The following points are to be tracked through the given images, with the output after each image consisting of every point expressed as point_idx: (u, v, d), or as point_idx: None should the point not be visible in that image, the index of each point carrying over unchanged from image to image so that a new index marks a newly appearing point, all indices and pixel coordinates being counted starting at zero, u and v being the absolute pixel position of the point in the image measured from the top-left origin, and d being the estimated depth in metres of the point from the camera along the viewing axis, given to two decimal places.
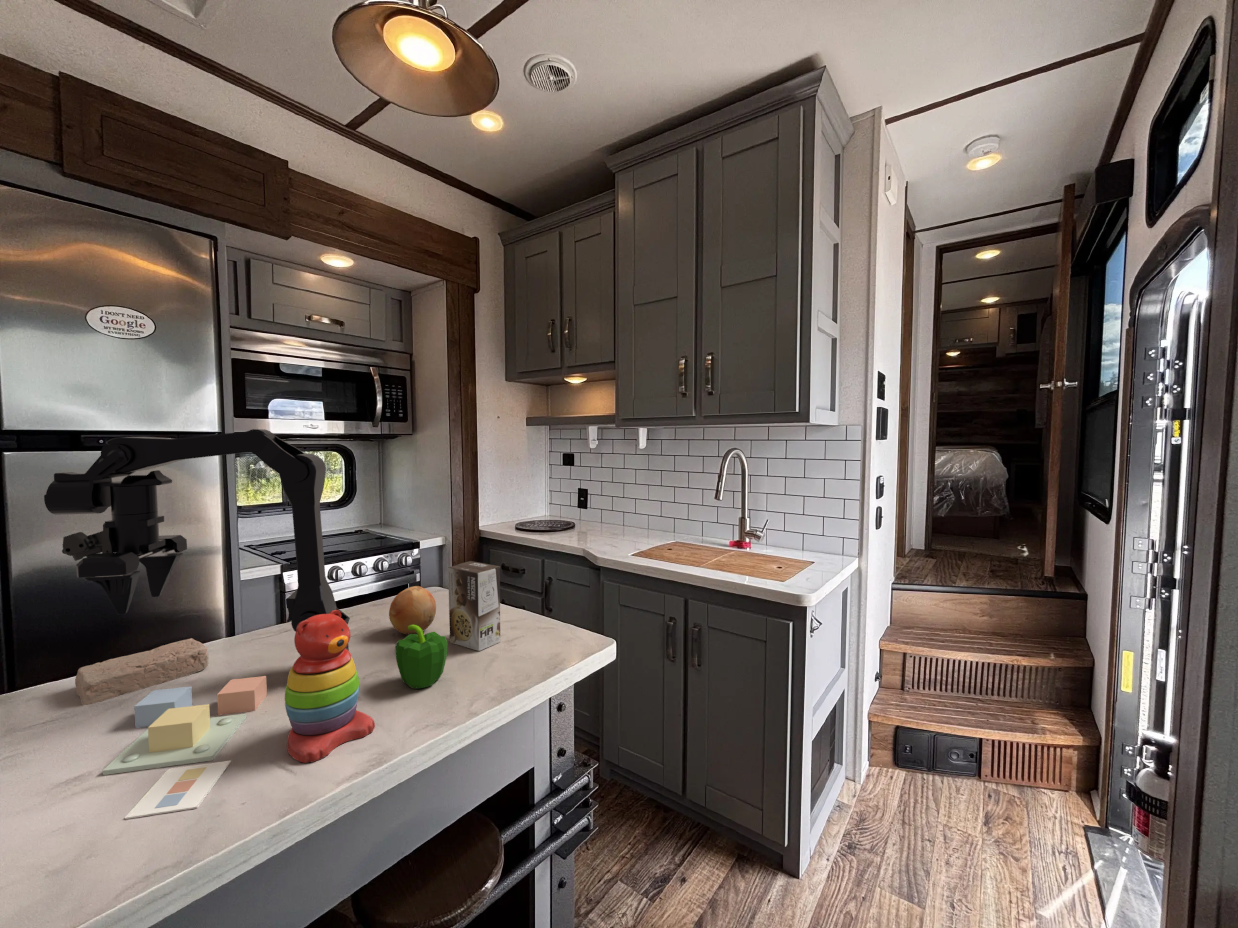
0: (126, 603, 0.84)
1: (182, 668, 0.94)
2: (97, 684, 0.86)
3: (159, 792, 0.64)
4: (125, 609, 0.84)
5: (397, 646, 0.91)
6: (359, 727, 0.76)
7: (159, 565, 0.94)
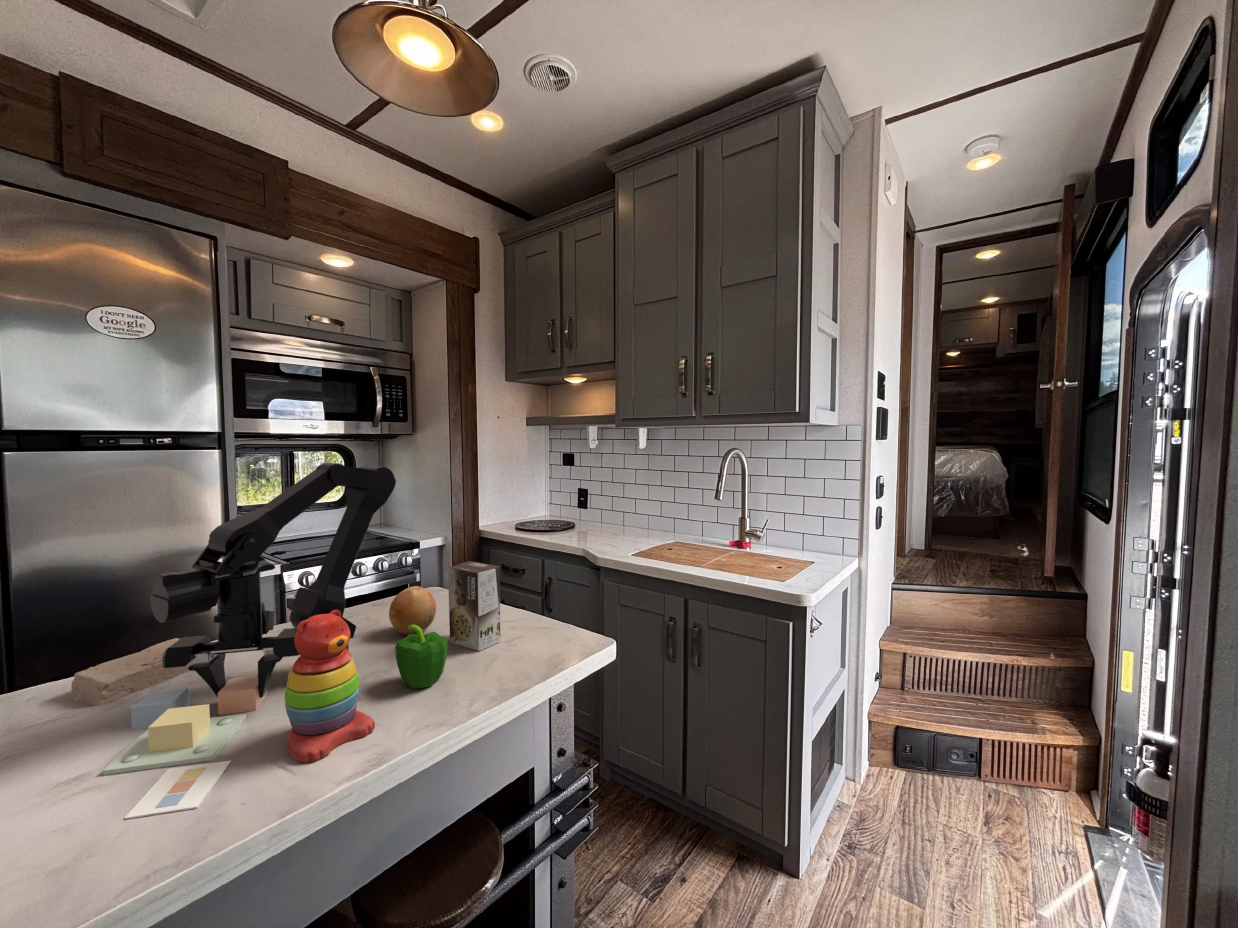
0: (214, 692, 0.83)
1: None
2: (112, 683, 0.86)
3: (159, 792, 0.64)
4: None
5: (397, 646, 0.91)
6: (359, 727, 0.76)
7: None
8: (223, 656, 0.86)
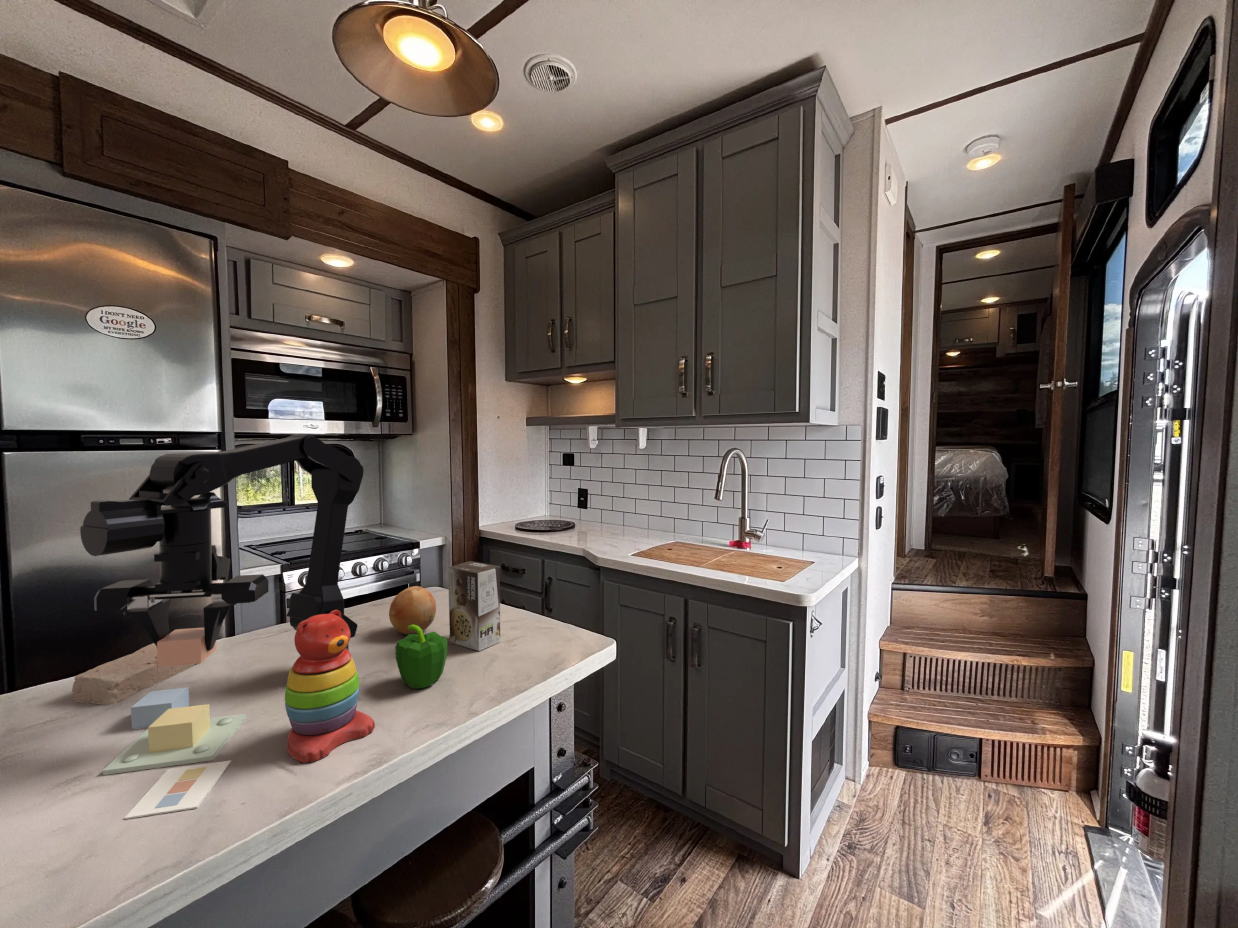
0: (154, 643, 0.74)
1: None
2: (122, 682, 0.86)
3: (159, 792, 0.64)
4: None
5: (397, 646, 0.92)
6: (359, 727, 0.76)
7: None
8: (167, 603, 0.76)
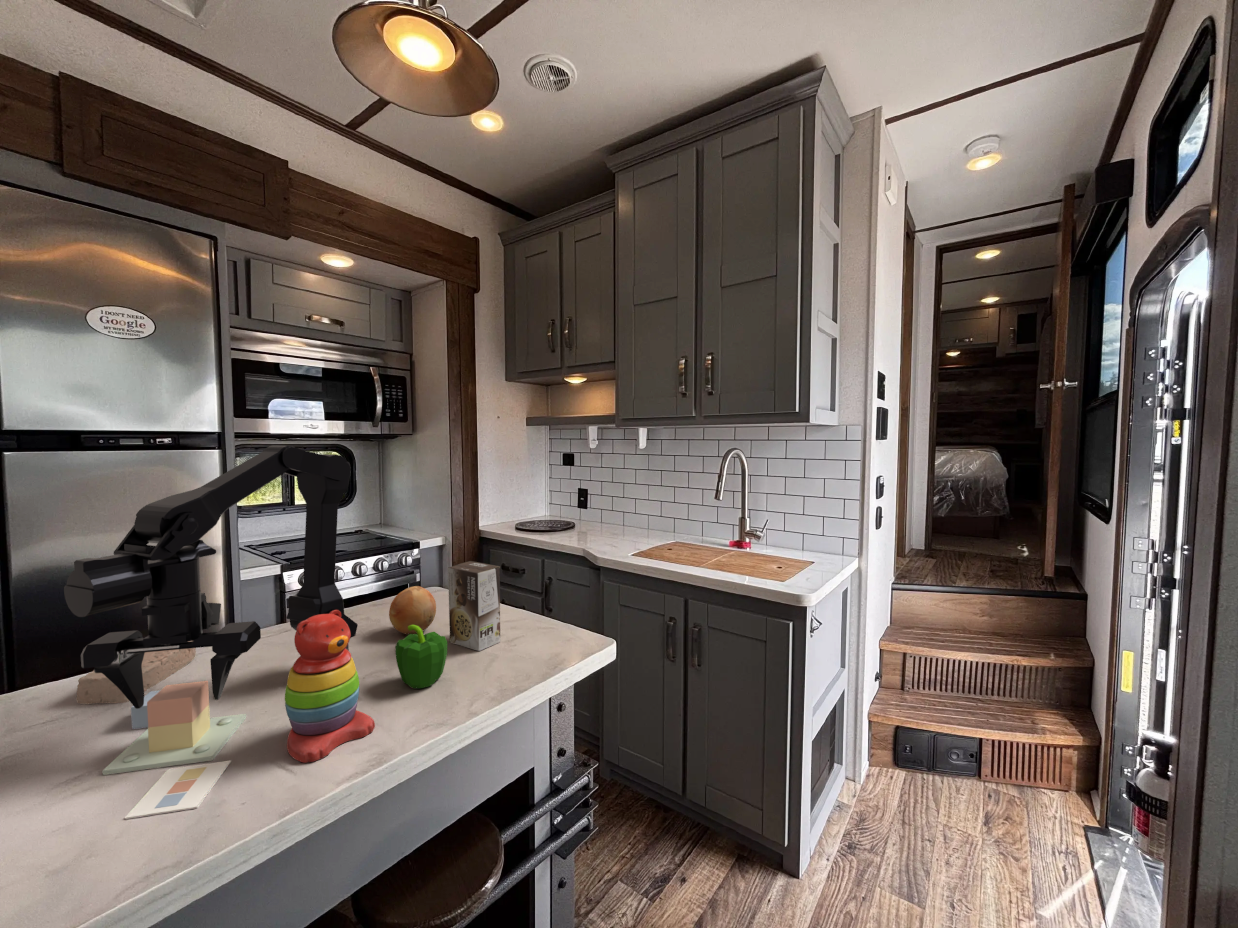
0: (127, 698, 0.72)
1: (183, 659, 0.98)
2: None
3: (159, 792, 0.64)
4: (132, 704, 0.72)
5: (397, 646, 0.91)
6: (359, 727, 0.76)
7: None
8: (141, 656, 0.74)
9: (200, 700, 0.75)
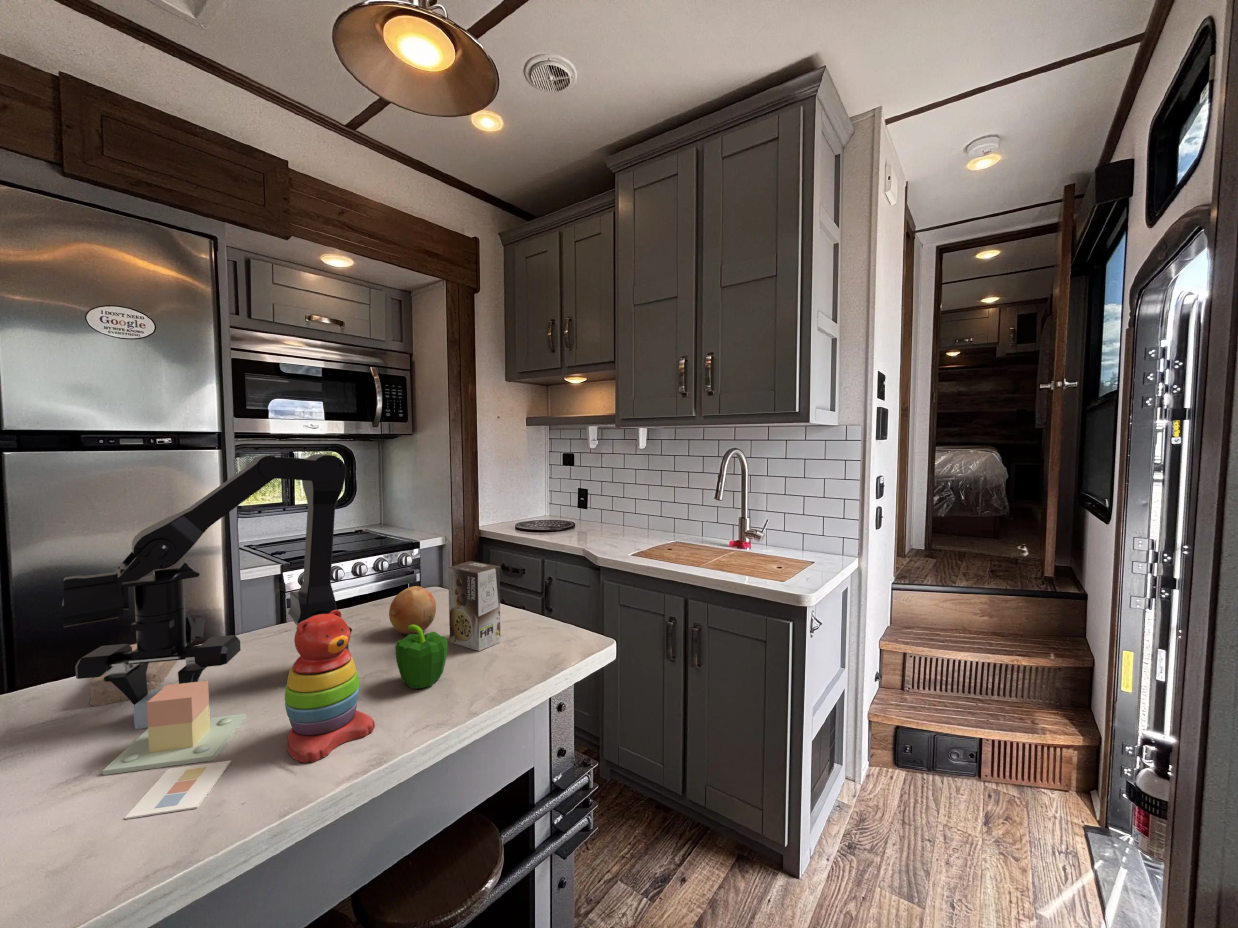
0: (133, 704, 0.80)
1: None
2: (156, 674, 0.89)
3: (159, 792, 0.64)
4: None
5: (397, 646, 0.92)
6: (359, 727, 0.76)
7: None
8: (145, 665, 0.82)
9: (200, 700, 0.75)
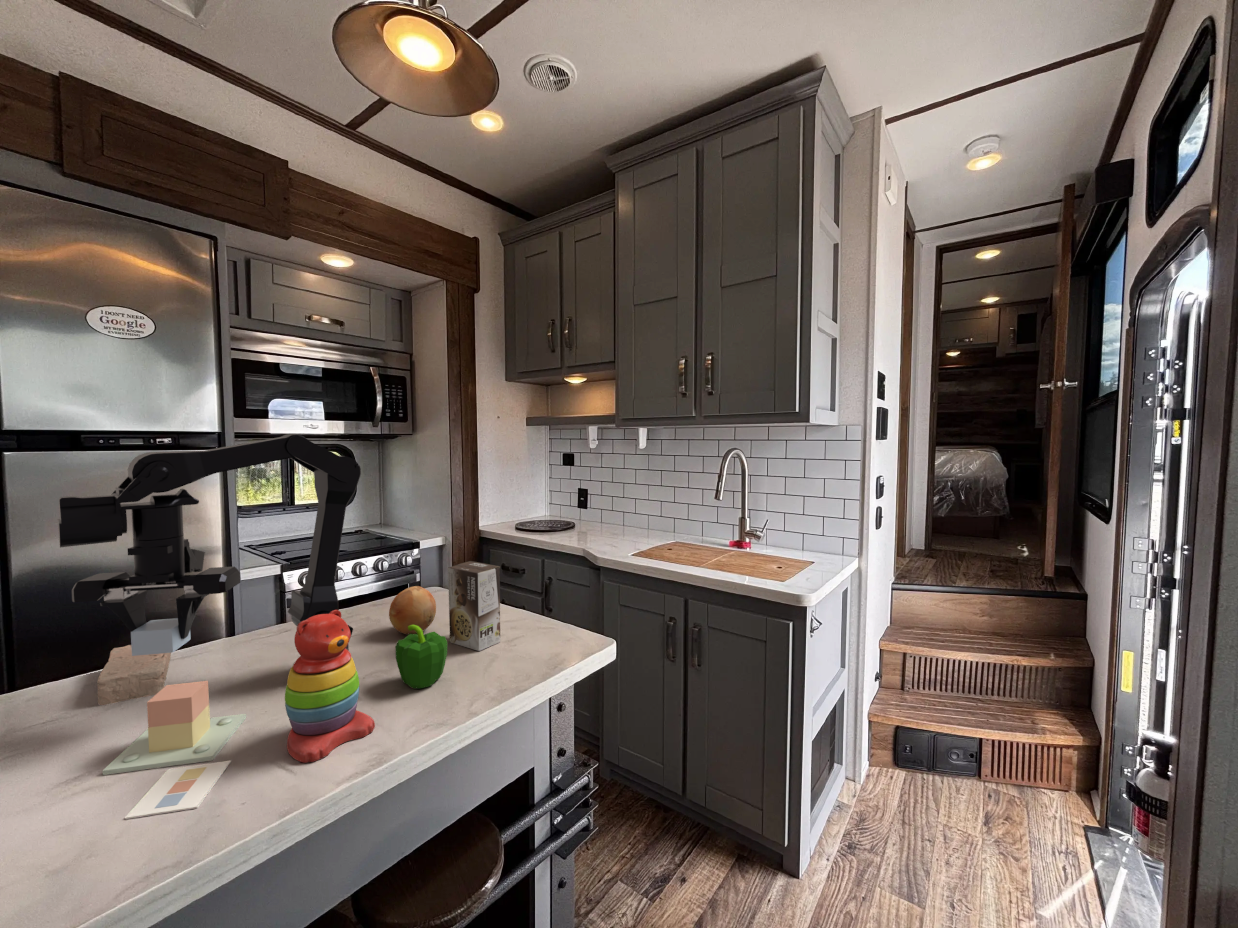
0: (131, 631, 0.78)
1: (169, 656, 0.99)
2: (163, 671, 0.90)
3: (159, 792, 0.64)
4: None
5: (397, 646, 0.91)
6: (359, 727, 0.76)
7: None
8: (143, 595, 0.81)
9: (200, 700, 0.75)
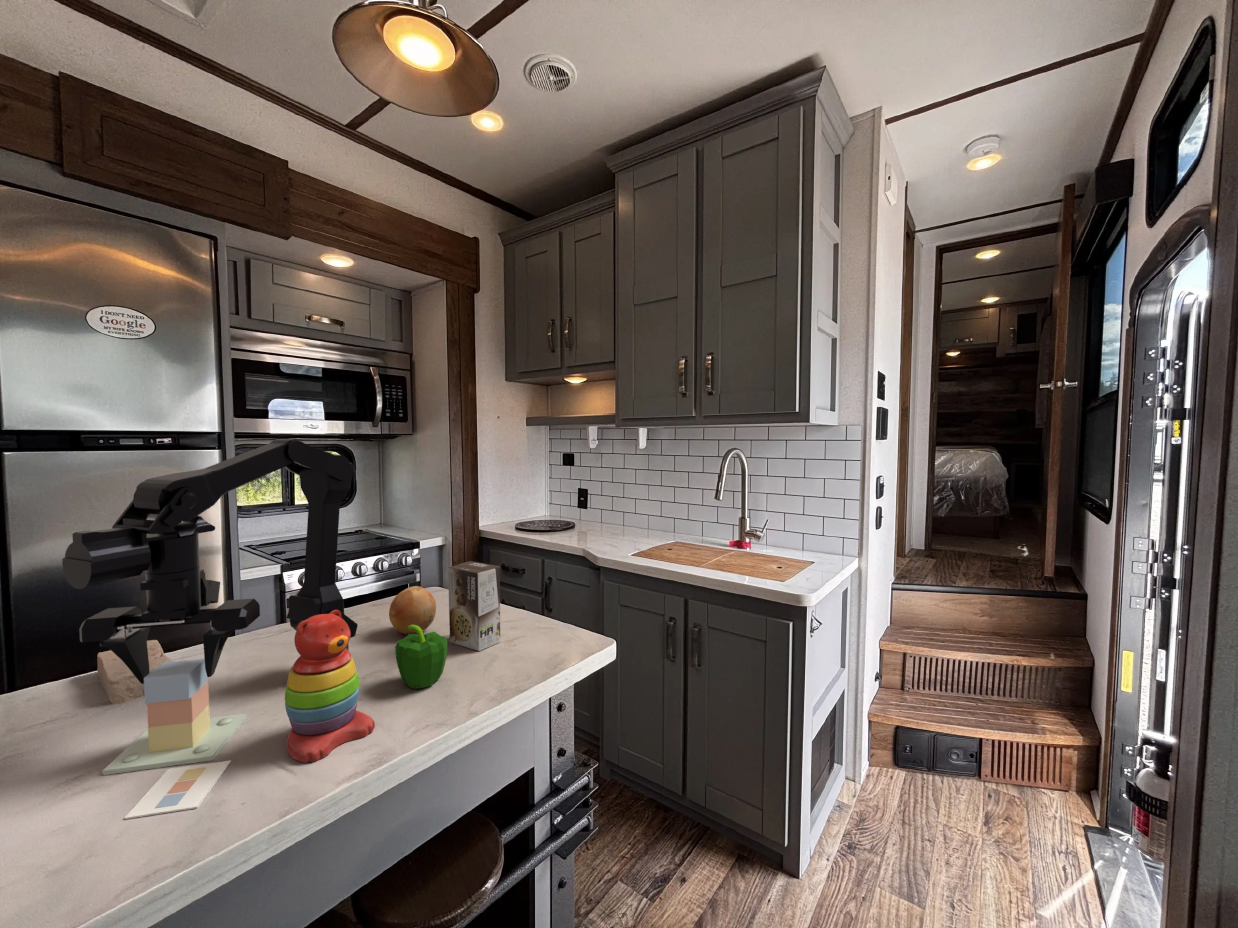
0: (133, 673, 0.72)
1: None
2: None
3: (159, 792, 0.64)
4: (138, 679, 0.72)
5: (397, 646, 0.91)
6: (359, 727, 0.76)
7: None
8: (146, 631, 0.74)
9: (200, 700, 0.75)
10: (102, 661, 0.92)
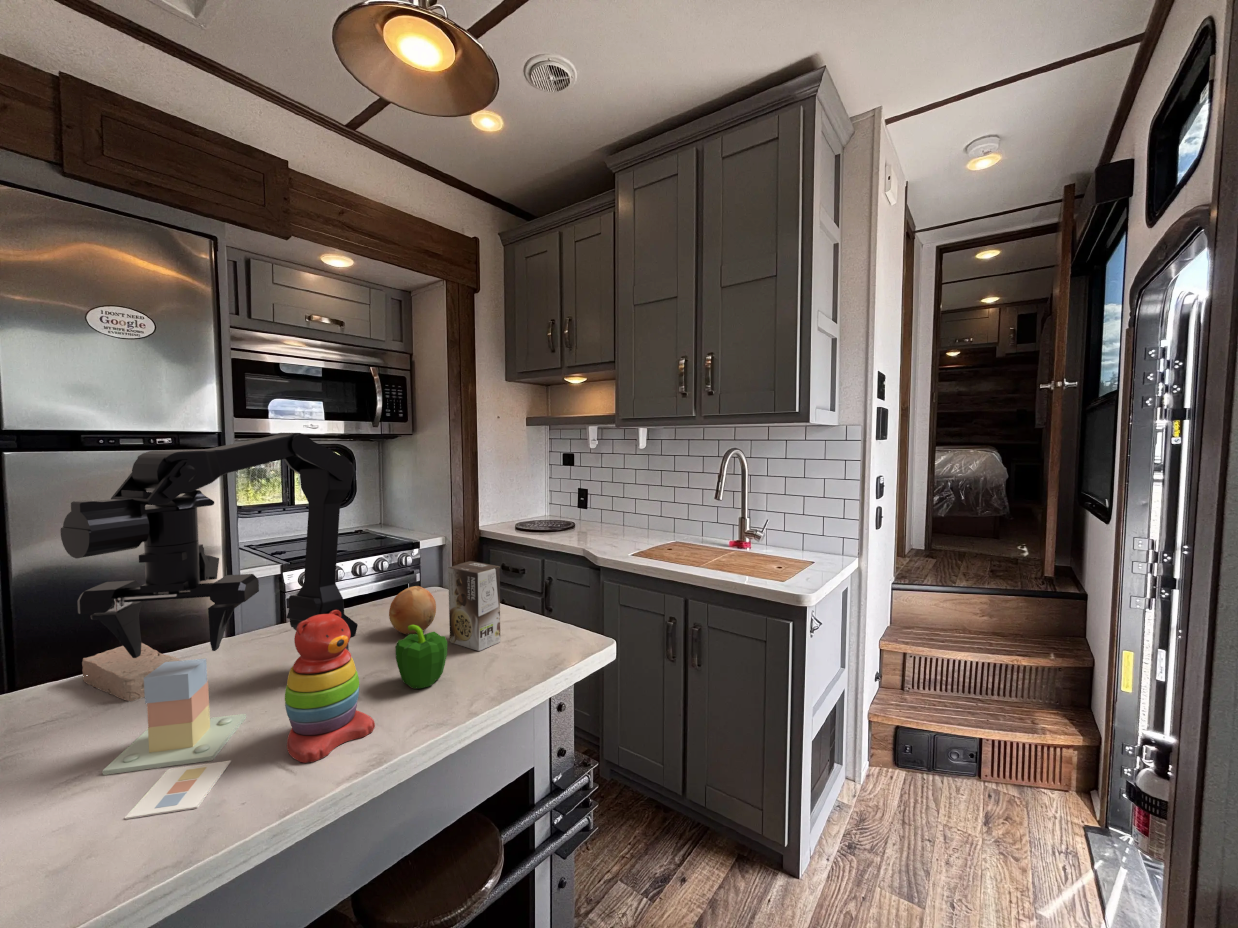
0: (124, 646, 0.71)
1: None
2: None
3: (159, 792, 0.64)
4: (129, 653, 0.72)
5: (397, 646, 0.91)
6: (359, 727, 0.76)
7: None
8: (138, 606, 0.74)
9: (200, 700, 0.75)
10: (96, 665, 0.91)
